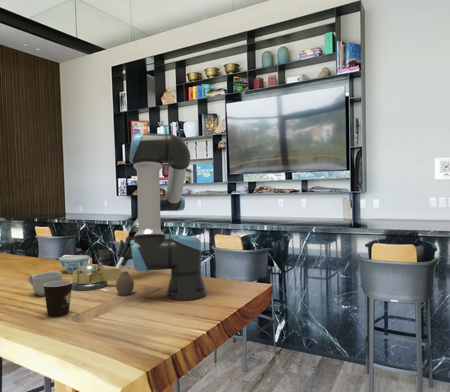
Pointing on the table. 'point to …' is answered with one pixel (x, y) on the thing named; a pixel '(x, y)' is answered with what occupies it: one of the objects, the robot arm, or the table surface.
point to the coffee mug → (58, 297)
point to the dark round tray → (92, 285)
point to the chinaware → (73, 262)
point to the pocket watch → (99, 263)
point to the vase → (125, 284)
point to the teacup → (43, 281)
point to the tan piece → (96, 275)
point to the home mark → (104, 290)
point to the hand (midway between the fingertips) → (117, 271)
